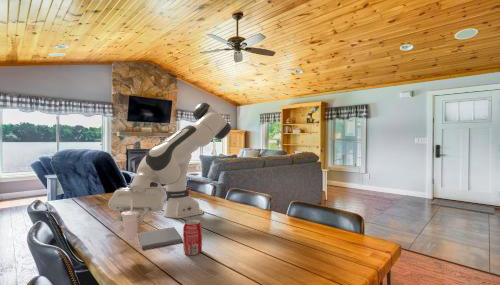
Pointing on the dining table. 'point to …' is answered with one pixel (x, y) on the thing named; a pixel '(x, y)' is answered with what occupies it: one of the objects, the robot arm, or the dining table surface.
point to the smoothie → (130, 223)
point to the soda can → (192, 237)
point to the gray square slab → (159, 238)
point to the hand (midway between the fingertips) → (130, 220)
